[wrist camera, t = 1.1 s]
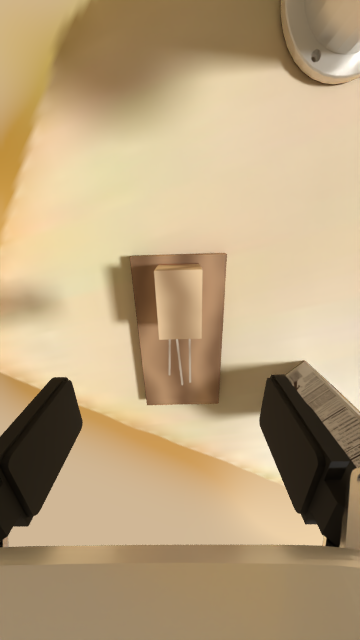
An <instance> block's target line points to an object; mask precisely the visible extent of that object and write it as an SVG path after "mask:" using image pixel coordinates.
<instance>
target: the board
mask: <svg viewBox="0 0 360 640" xmlns="http://www.w3.org/2000/svg"><path fill="white" fill-rule="evenodd" d="M226 261H227V254H225V253H211V254H177V255H143V256H131V257H130V263H131V272H132V280H133V289H134V297H135V306H136V314H137V323H138V331H139V340H140V349H141V357H142V366H143V374H144V383H145V391H146V400H147V405H173V404H217V403H218V401H219V383H220V366H221V348H222V331H223V313H224V296H225V278H226ZM191 263H199V265H200V266H201V268H202V269H203V275H202V339H167V340H159V331H158V317H157V304H156V291H155V277H154V270H155V269H156V267H157V266H158V265H159V264H191Z"/></svg>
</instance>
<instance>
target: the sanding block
mask: <svg viewBox="0 0 360 640" xmlns="http://www.w3.org/2000/svg"><path fill="white" fill-rule="evenodd" d="M202 275H203V269H202V268H201V266H200V265H199V263H191V264H159V265H158V266H157V267H156V269H155V270H154V277H155V291H156V304H157V317H158V331H159V340H167V339H202Z"/></svg>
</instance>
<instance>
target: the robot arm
mask: <svg viewBox="0 0 360 640" xmlns="http://www.w3.org/2000/svg"><path fill="white" fill-rule="evenodd" d="M281 20H282V28H283V34H284V37H285V41H286V44H287V48H288V50H289V52H290V54H291V56H292V58H293V60H294V61H295V63H296V64H297V65H298V66H299V68H300V69H301V70H302V71H303V72H304V73H305V74H307V75H308V76H309V77H311V78H312V79H314V80H317V81H319V82H322V83H329V84H339V83H345V82H349V81H351V80H354V79H356V78H359V77H360V0H281ZM259 421H260V427H261V429H262V432H263V434H264V437H265V439H266V441H267V444H268V446H269V449H270V451H271V453H272V456H273V458H274V461H275V463H276V465H277V468H278V470H279V473H280V475H281V477H282V480H283V482H284V485H285V487H286V490H287V492H288V494H289V497H290V499H291V501H292V504H293V506H294V508H295V510H296V512H297V513H300V514H301V515H302V518H303V520H304V522H305V524H317V525H318V527H319V529H320V531H321V533H322V535H324V538H323V544H322V546H308V545H307V546H306V545H99V546H98V545H97V546H28V547H27V546H26V547H8V534H9V533H10V531H11V529H12V527H13V526H29V524H30V522H31V520H32V518H33V516H35V515H37V514H38V513H39V511H40V509H41V508H42V505H43V504H44V502H45V500H46V498H47V496H48V494H49V492H50V490H51V488H52V486H53V483H54V482H55V480H56V478H57V476H58V474H59V472H60V470H61V468H62V466H63V464H64V462H65V460H66V458H67V456H68V454H69V452H70V450H71V448H72V446H73V444H74V442H75V440H76V438H77V436H78V434H79V433H80V431H81V428H82V418H81V414H80V410H79V407H78V403H77V399H76V396H75V392H74V388H73V385H72V382H71V381H70V380H68V378H66V377H54V378H52V379H51V380H50V381H49V382H48V383H47V384H46V386H45V387H44V388H43V389H42V390H41V391H40V393H39V394H38V395H37V396H36V397H35V398H34V399H33V400H32V401H31V403H30V404H29V405H28V406H27V407H26V408H25V409H24V410H23V412H22V413H21V414H20V415H19V416H18V417H17V418H16V419H15V421H14V422H13V423H12V424H11V425H10V426H9V428H8V429H7V430H6V431H5V432H4V433H3V434H2V435H1V437H0V640H360V468H357V467H356V466H355V465H354V463H353V462H352V461H351V459H350V458H349V457H348V455H347V454H346V453H345V451H344V450H343V449H342V447H341V446H340V445H339V443H338V442H337V441H336V439H335V438H334V437H333V435H332V434H331V433H330V431H329V430H328V429H327V427H326V426H325V425H324V424H323V422H322V421H321V420H320V418H319V417H318V416H317V414H316V413H315V412H314V410H313V409H312V408H311V407H310V406H309V405H308V404H307V403H306V402H305V401H304V399H303V398H302V397H301V395H300V394H299V393H298V391H297V390H296V389H295V387H294V386H293V385H292V383H291V382H290V381H289V379H288V378H287V377H286V376H285V375H271V377H270V378H268V379H267V381H266V387H265V392H264V397H263V403H262V408H261V414H260V420H259Z"/></svg>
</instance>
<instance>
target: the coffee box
mask: <svg viewBox="0 0 360 640" xmlns="http://www.w3.org/2000/svg"><path fill="white" fill-rule="evenodd" d="M285 376H286V377H287V378H288V379H289V381H290V382H291V383H292V385H293V386H294V387H295V389H296V390H297V391H298V393H299V394H300V395H301V397H302V398H303V399H304V401H305V402H306V403H307V404H308V405H309V406H310V407H311V408H312V409H313V410H314V412H315V413H316V414H317V416H318V417H319V418H320V420H321V421H322V422H323V424H324V425H325V426H326V427H327V429H328V430H329V431H330V433H331V434H332V435H333V437H334V438H335V439H336V441H337V442H338V443H339V445H340V446H341V447H342V449H343V450H344V451H345V453H346V454H347V455H348V457H349V458H350V459H351V461H352V462H353V463H354V465H355V466H356V467H357V468H360V411H359V410H358V409H357V408H356V407H355V406H353V405H352V404H351V403H350V402H349V401H348V400H347V399H346V398H345V397H344V396H343V395H342V394H341V393H340V392H339V391H338V390H337V389H336V388H335V387H334V386H332V385H331V384H330V383H329V382H328V381H327V380H326V379H325V378H324V377H323V376H322V375H320V374H319V373H318V372H317V371H316V370H315V369H314V368H313V367H312V366H311V365H310V364H308V363H307V362H306V361H304V362H302V363H301V364H300V365H298V366H297V367H296V368H294V369H293V370H292V371H290V372H289V373H288V374H286V375H285Z"/></svg>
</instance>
